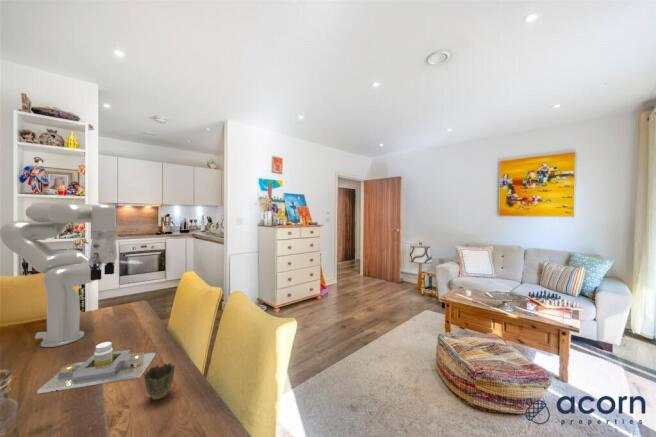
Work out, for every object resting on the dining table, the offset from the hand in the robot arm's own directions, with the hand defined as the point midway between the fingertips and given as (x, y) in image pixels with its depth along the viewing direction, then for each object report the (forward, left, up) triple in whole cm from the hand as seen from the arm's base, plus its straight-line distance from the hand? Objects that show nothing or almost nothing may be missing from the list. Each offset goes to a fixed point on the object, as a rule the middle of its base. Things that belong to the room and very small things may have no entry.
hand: (102, 276), depth 101 cm
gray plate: (+10, -21, -28) cm, 37 cm away
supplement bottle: (+10, -21, -28) cm, 36 cm away
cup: (+32, -40, -28) cm, 59 cm away
